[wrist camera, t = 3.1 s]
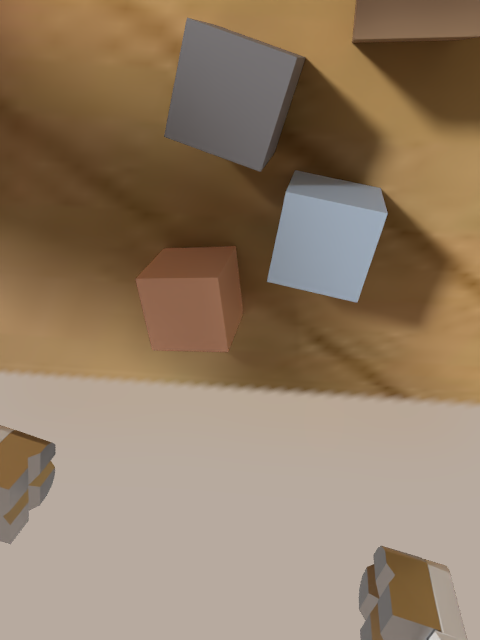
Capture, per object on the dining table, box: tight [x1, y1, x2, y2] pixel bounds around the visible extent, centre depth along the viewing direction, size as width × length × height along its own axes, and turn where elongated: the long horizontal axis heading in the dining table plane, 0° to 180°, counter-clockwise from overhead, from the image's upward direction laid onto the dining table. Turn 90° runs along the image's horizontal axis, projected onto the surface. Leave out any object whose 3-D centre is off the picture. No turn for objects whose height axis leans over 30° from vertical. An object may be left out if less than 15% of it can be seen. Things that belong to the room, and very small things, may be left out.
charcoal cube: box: [164, 18, 306, 172], centre depth 22 cm, size 5×5×5 cm
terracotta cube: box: [135, 246, 243, 352], centre depth 29 cm, size 5×5×5 cm
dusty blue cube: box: [267, 170, 388, 302], centre depth 25 cm, size 5×5×5 cm
